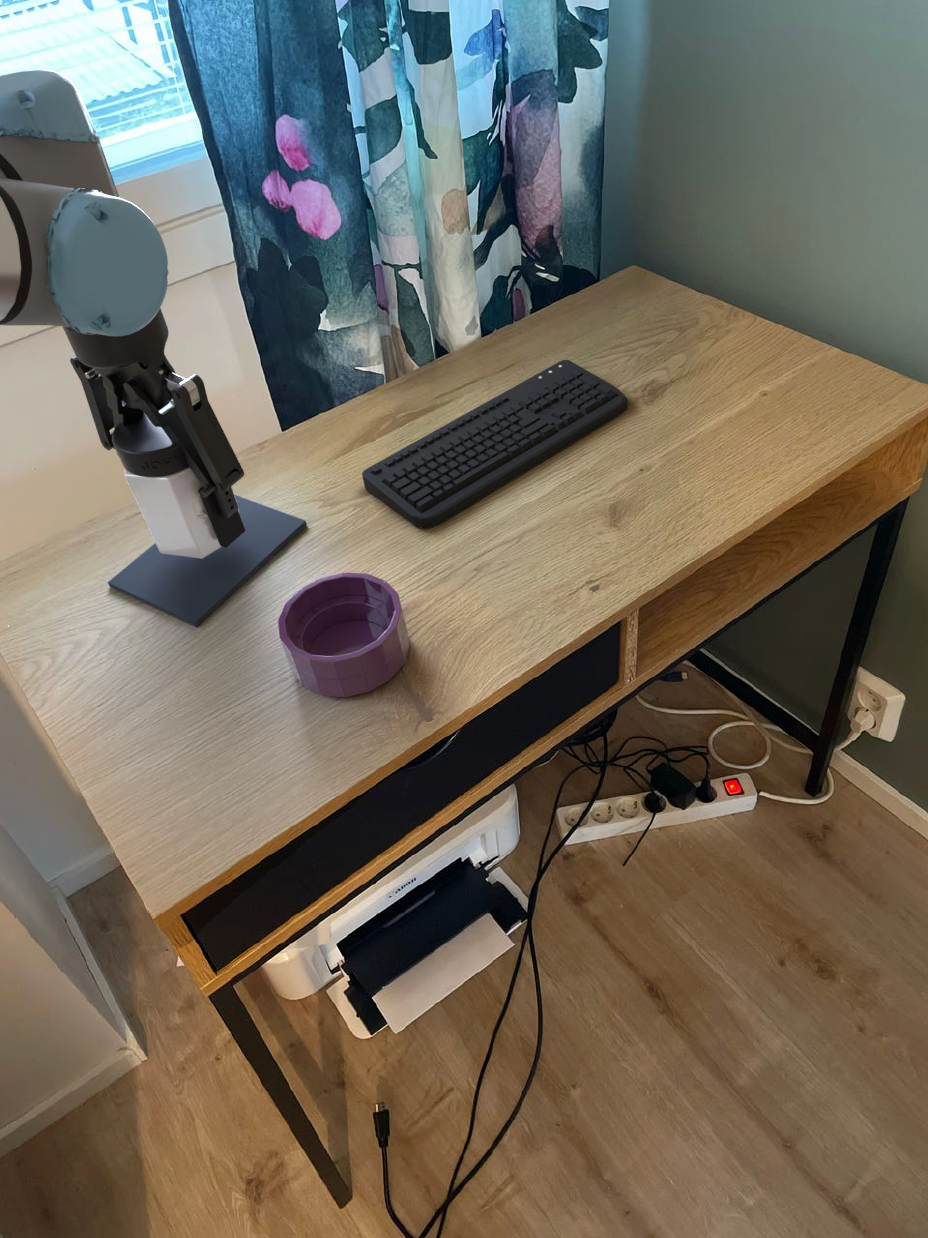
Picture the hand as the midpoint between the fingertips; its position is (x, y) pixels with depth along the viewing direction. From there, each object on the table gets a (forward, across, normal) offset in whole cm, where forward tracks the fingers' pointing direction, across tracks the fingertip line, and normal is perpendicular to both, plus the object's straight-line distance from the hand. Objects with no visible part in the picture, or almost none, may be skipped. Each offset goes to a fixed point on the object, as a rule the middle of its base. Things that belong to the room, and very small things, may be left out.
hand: (197, 524), depth 86 cm
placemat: (+4, 0, 0) cm, 4 cm away
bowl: (+4, -21, +4) cm, 22 cm away
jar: (+1, 0, 0) cm, 1 cm away
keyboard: (+4, -17, -28) cm, 33 cm away
